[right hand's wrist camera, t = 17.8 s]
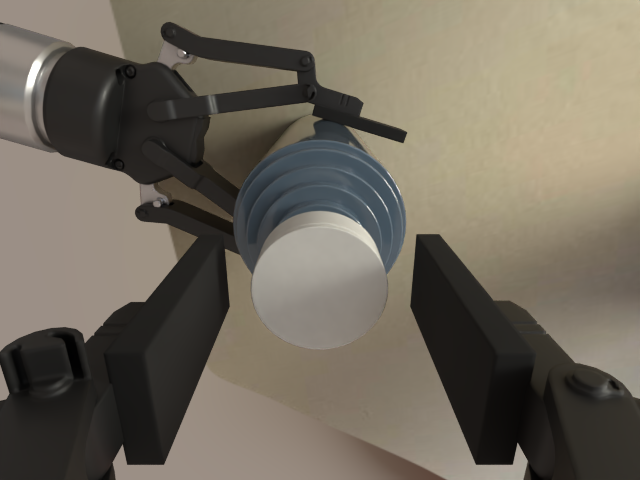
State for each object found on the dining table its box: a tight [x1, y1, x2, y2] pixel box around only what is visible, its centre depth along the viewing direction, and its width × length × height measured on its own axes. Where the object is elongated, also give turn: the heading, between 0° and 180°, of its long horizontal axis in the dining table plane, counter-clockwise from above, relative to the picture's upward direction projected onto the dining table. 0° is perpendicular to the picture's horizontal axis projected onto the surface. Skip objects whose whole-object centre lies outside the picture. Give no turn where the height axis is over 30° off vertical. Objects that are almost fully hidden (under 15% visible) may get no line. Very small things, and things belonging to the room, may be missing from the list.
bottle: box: [233, 114, 406, 275], centre depth 25 cm, size 8×8×25 cm
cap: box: [251, 211, 388, 350], centre depth 13 cm, size 4×4×2 cm
